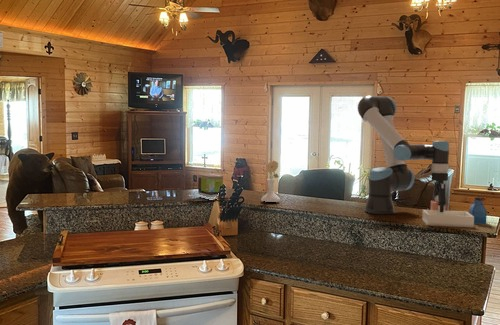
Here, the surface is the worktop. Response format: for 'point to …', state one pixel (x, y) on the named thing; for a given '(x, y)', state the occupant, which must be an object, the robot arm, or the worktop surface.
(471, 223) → the tray
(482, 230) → the worktop surface
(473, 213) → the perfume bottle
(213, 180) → the tea box
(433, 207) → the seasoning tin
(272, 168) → the flower in vase
